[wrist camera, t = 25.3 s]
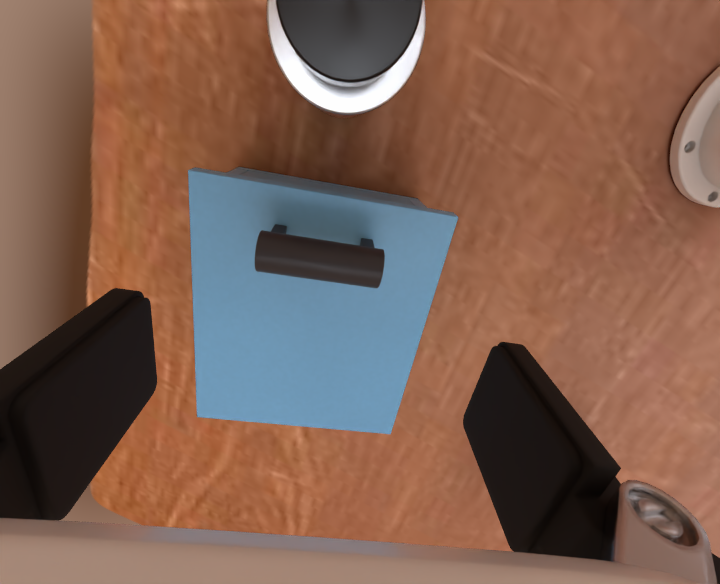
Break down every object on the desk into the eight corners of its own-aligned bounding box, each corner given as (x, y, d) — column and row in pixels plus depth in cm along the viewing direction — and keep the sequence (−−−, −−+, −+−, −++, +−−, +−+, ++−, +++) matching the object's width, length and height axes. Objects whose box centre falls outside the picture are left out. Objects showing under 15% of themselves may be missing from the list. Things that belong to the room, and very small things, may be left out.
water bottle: (304, 5, 24) (248, -189, 9) (395, 27, 25) (480, -118, 10) (295, 109, 27) (239, 91, 12) (377, 125, 27) (423, 128, 13)
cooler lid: (194, 167, 19) (145, 185, 14) (454, 212, 21) (488, 242, 16) (201, 407, 27) (171, 472, 22) (389, 424, 29) (399, 488, 24)
